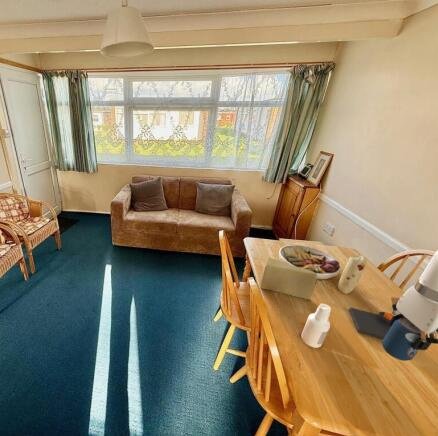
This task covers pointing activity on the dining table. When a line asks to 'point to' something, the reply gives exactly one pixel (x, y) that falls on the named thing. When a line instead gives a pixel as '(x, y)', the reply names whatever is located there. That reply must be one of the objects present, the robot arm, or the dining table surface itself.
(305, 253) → the bowl
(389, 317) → the tare button
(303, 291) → the cheese
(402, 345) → the soda can
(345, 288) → the food model
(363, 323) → the scale
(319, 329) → the white bottle
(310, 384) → the dining table surface
